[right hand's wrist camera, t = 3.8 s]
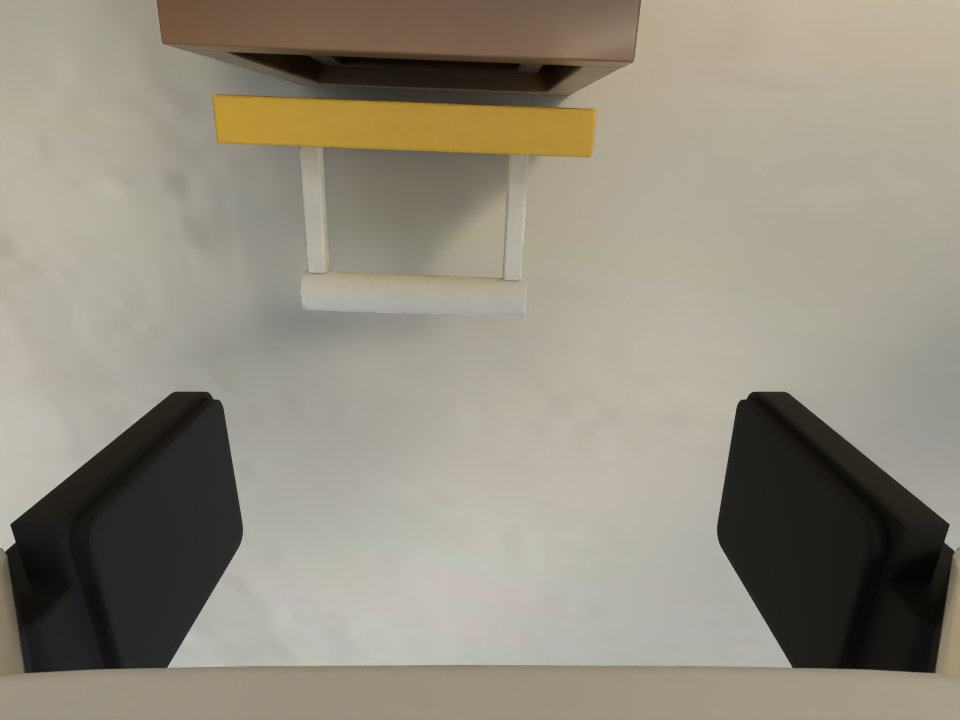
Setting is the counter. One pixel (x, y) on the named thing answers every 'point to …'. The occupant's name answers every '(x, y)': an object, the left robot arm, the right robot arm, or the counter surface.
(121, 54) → the counter surface
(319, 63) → the cabinet
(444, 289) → the drawer
